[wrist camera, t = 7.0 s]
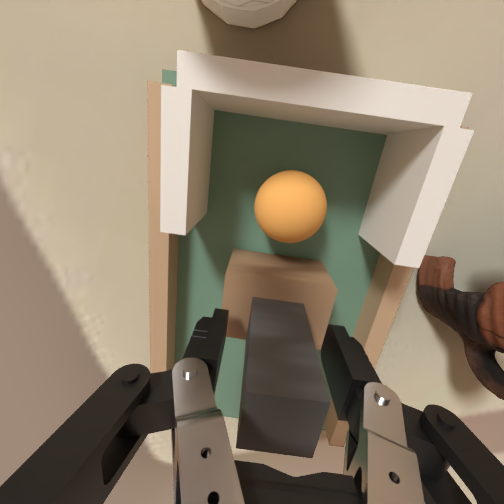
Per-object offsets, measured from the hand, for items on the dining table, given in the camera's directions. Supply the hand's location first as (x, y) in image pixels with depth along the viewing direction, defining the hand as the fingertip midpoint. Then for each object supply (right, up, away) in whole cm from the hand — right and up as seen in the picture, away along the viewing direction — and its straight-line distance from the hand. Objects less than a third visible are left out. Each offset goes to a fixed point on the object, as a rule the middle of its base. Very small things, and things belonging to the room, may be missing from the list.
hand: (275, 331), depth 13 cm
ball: (+1, +7, +1) cm, 7 cm away
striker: (0, +2, +5) cm, 5 cm away
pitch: (0, +1, +6) cm, 6 cm away
